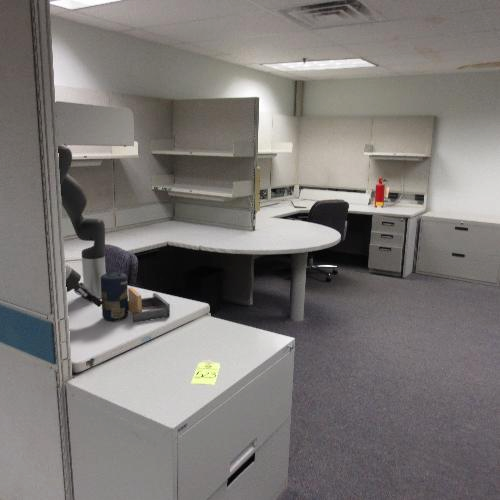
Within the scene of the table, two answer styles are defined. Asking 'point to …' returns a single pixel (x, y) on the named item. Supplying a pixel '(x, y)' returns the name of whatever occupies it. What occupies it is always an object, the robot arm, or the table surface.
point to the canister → (114, 296)
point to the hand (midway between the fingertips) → (100, 304)
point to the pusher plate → (134, 300)
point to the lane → (160, 312)
